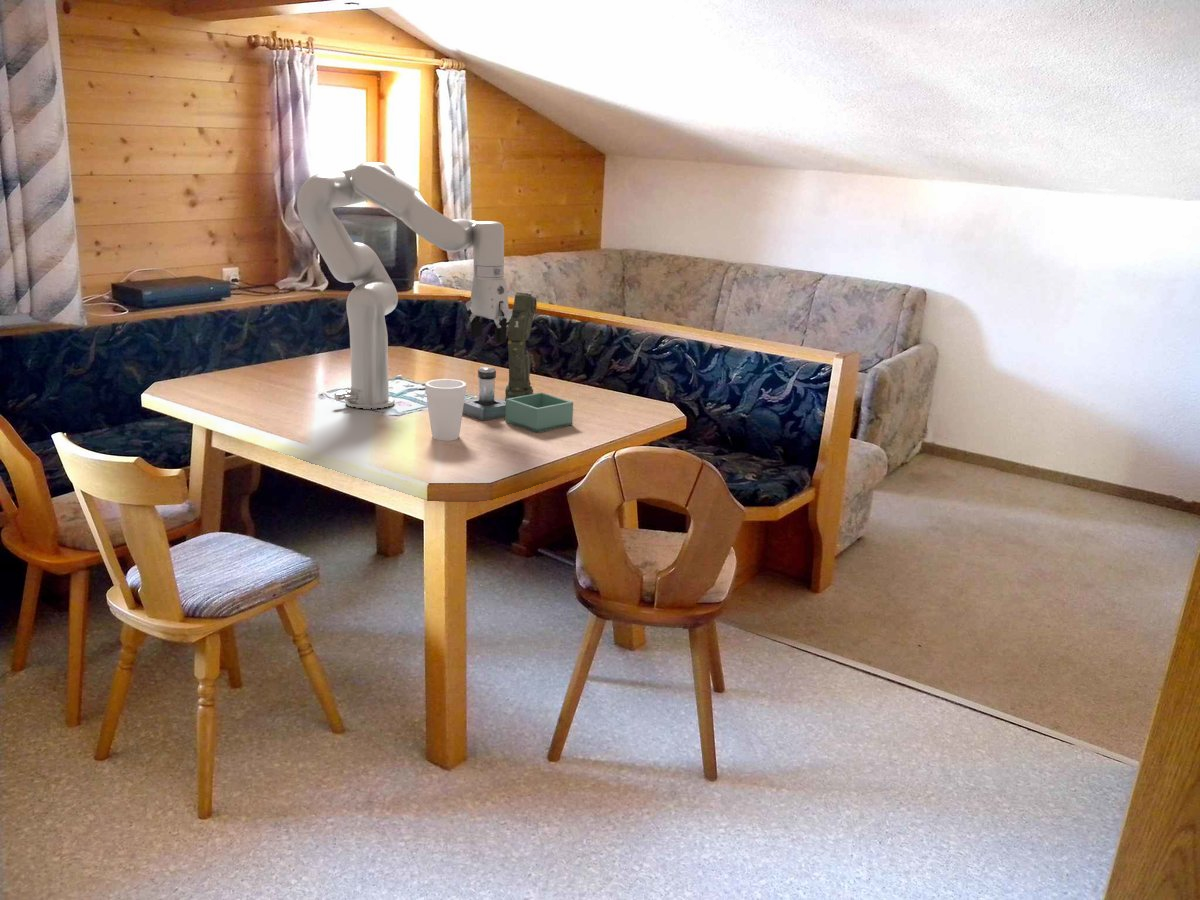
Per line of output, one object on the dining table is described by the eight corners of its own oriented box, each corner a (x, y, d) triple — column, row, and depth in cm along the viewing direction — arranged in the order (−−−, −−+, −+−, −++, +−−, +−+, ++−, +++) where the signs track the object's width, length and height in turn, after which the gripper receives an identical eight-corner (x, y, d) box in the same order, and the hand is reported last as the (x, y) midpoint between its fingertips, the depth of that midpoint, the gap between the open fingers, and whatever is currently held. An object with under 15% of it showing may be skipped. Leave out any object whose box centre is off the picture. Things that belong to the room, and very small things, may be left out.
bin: (536, 432, 246) (537, 409, 244) (505, 421, 254) (505, 398, 252) (572, 425, 254) (573, 402, 253) (541, 414, 262) (541, 392, 261)
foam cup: (471, 433, 243) (471, 381, 239) (457, 444, 234) (457, 390, 230) (434, 429, 245) (434, 377, 241) (419, 439, 236) (419, 386, 232)
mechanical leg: (522, 404, 268) (532, 291, 267) (496, 401, 270) (506, 289, 268) (535, 404, 282) (544, 297, 280) (510, 401, 283) (519, 295, 281)
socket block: (483, 420, 254) (483, 409, 253) (459, 412, 261) (459, 401, 260) (513, 414, 261) (513, 403, 260) (489, 406, 268) (489, 395, 267)
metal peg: (484, 416, 258) (485, 371, 254) (473, 413, 261) (474, 367, 257) (498, 414, 261) (499, 369, 257) (487, 410, 264) (488, 365, 261)
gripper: (522, 275, 247) (521, 343, 252) (479, 267, 259) (479, 333, 264) (498, 277, 242) (498, 347, 247) (455, 269, 253) (455, 336, 258)
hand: (488, 339), depth 255 cm, fingers open, 9 cm apart
